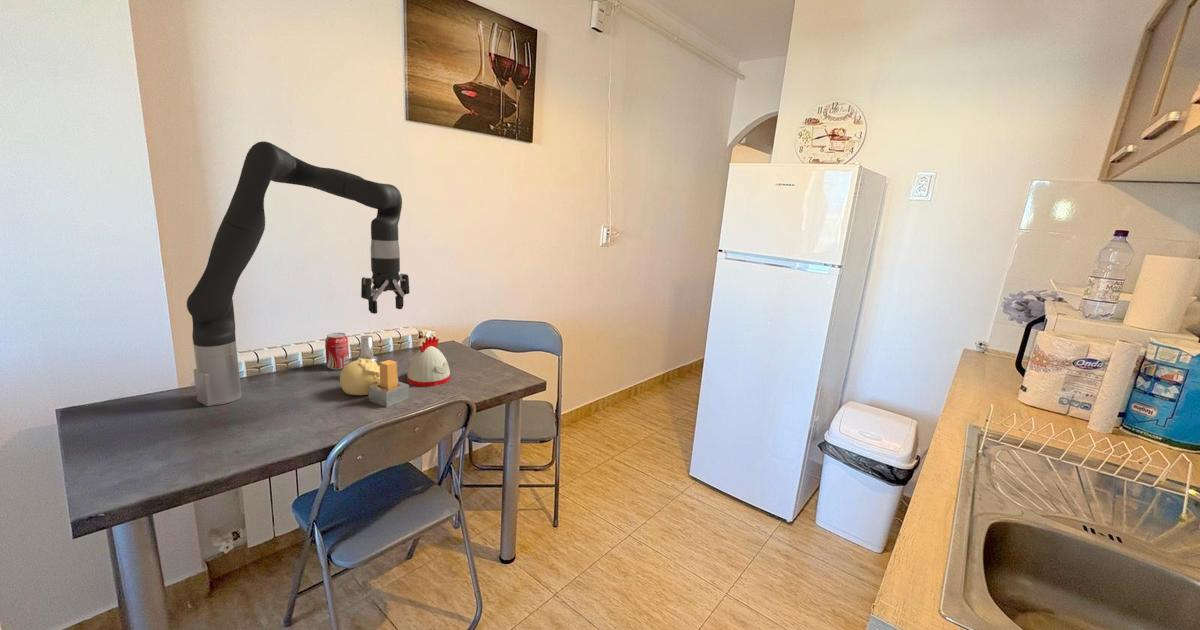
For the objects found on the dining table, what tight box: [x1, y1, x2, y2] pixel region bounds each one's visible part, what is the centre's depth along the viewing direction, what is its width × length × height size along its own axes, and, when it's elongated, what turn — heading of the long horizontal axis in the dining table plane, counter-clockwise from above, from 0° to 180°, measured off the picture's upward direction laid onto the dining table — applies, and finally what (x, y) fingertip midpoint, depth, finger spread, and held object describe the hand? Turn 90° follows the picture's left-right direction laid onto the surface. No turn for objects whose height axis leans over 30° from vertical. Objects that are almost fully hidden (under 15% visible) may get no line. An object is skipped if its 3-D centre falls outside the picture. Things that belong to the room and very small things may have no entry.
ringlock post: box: [358, 335, 378, 363], centre depth 157 cm, size 6×6×14 cm
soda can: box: [324, 332, 350, 371], centre depth 163 cm, size 7×7×12 cm
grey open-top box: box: [368, 380, 410, 408], centre depth 141 cm, size 8×8×4 cm
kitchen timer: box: [406, 335, 451, 387], centre depth 159 cm, size 14×14×15 cm
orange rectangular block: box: [379, 359, 398, 390], centre depth 141 cm, size 3×3×12 cm
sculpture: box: [339, 357, 380, 396], centre depth 145 cm, size 12×12×11 cm
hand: (386, 310), depth 136 cm, fingers open, 8 cm apart
